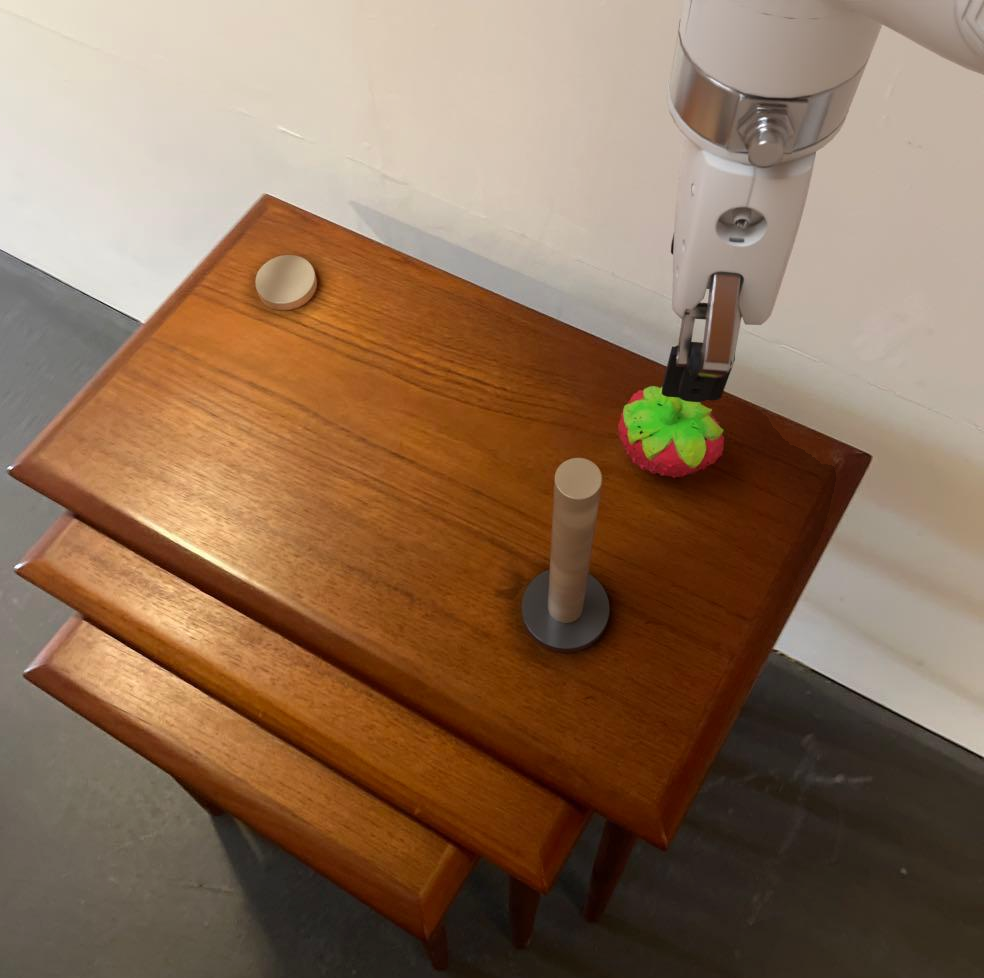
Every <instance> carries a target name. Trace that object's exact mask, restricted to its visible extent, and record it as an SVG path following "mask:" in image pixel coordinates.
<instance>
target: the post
mask: <svg viewBox="0 0 984 978" xmlns="http://www.w3.org/2000/svg"><path fill="white" fill-rule="evenodd" d="M602 484H603V475H602V471H601V470H600V468H599V467H598V465H597V464H595V463H594V462H593V461H591V460H590V459H587V458H583V457H573V458H572V457H571V458H569V459H567V460H565V461H563V462H562V463H561V464H559V466H558V467H557V468H556V470H555V474H554V483H553V501H552V519H551V537H550V538H551V539H550V556H549V557H550V558H549V561H550V562H549V569H546V570H544V571H542V572H541V573H539V574H537V575H536V576H535V577H534V578H533V579H532V580H531V581H530V582H529V583H528V585H527V586H526V588H525V590H524V593H523V596H522V599H521V620H522V623H523V626H524V629H525V630H526V632H527V634H528V635H529V637H530V638H531V639H532V640H533V641H534V642H535V643H537V644H538V645H539V646H541V647H542V648H544V649H546V650H549V651H551V652H554V653H562V654H573V653H578V652H581V651H583V650H586V649H589V647H591V646H593V645H594V644H595V643H596V642H597V641H598V640H599V639H600V638H601V637H602V635H603V634H604V632H605V631H606V629H607V625H608V622H609V617H610V607H611V606H610V600H609V596H608V594H607V592H606V590H605V587H604V586H603V585H602V584H601V583H600V581H599V580H598V578H596V577H595V576H593V575H592V574H590V564H591V558H592V552H593V545H594V539H595V538H594V537H595V532H596V524H597V518H598V512H599V504H600V499H601V498H600V497H601V491H602Z"/></svg>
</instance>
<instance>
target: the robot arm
mask: <svg viewBox="0 0 984 978" xmlns="http://www.w3.org/2000/svg"><path fill="white" fill-rule="evenodd" d="M883 26H885V27H886V28H888V29H890V30H892V31H894V32H896V33H897V34H899V35H901V36H902V37H904V38H906V39H908V40H910V41H912V42H913V43H915V44H917V45H919V46H921V47H923V48H924V49H925V50H928V51H930V52H932V53H934V54H935V55H937V56H939V57H941V58H943V59H945V60H947V61H949V62H952V63H953V64H955V65H957V66H960V67H962V68H965V69H966V70H969V71H971V72H974V73H977V74H980V75H982V76H984V0H682V7H681V11H680V18H679V23H678V28H677V33H676V39H675V44H674V51H673V56H672V63H671V69H670V74H669V80H668V86H667V89H666V101H667V107H668V112H669V114H670V115H669V116H671V118H672V120H673V122H674V124H675V125H676V127H677V129H678V131H680V133H681V134H682V135H683V136H684V140H683V145H682V152H681V157H680V162H679V163H680V164H679V172H678V177H677V179H678V180H677V186H676V187H677V189H676V199H675V209H674V210H675V211H674V224H673V225H674V226H673V235H672V238H671V243H670V254H671V255H672V289H671V290H672V294H671V308H672V311H673V312H674V314H676V315H677V316H678V318H680V319H681V324H680V330H679V335H678V343H677V345H675V346H671V349H670V352H669V355H668V356H669V357H668V361H667V364H666V369H665V373H664V377H663V380H662V385H661V387H662V394H663V395H664V396H667V397H677V398H680V399H682V400H684V401H689V402H700V403H702V402H706V401H713V402H715V401H718V400H720V399H722V397H723V393H724V391H725V388H726V385H727V383H728V381H729V378H730V374H731V372H732V370H733V366H734V363H735V361H736V350H737V346H738V345H737V344H738V339H739V334H740V328H741V322H742V320H743V323H744V325H747V326H749V325H751V326H762V325H764V324H765V323H766V322H767V321H768V320H769V319H770V317H771V316H772V314H773V310H774V307H775V305H776V300H777V298H778V296H779V292H780V290H781V286H782V283H783V280H784V278H785V273H786V270H787V267H788V264H789V261H790V259H791V254H792V252H793V248H794V245H795V242H796V239H797V235H798V232H799V228H800V224H801V221H802V217H803V213H804V210H805V206H806V202H807V199H808V194H809V189H810V185H811V181H812V176H813V171H814V165H815V160H816V154H817V152H819V151H820V150H821V149H823V148H824V147H825V146H826V145H828V144H829V143H831V142H832V141H833V140H834V138H835V137H836V136H837V135H838V134H839V132H840V131H841V129H842V127H843V126H844V124H845V121H846V119H847V116H848V114H849V111H850V108H851V106H852V104H853V100H854V98H855V96H856V93H857V90H858V88H859V85H860V83H861V81H862V78H863V75H864V72H865V70H866V68H867V65H868V62H869V60H870V58H871V54H872V52H873V50H874V47H875V45H876V42H877V40H878V37H879V35H880V32H881V30H882V27H883ZM707 290H708V298H707V302H703V300H704V299H705V296H706V292H707ZM696 320H705V322H704V323H705V325H704V332H703V339H702V342H700V341H692V340H693V334H694V328H695V321H696Z"/></svg>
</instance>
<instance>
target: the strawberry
mask: <svg viewBox="0 0 984 978" xmlns="http://www.w3.org/2000/svg"><path fill="white" fill-rule="evenodd" d="M712 411H713V409H712V408H709V407H707V406H705V405H704V404H702V402H689V401H684V400H682V399H680V398H677V397H667V396H664V395H663V394H662V386H661V387H660V386H655V385H653V386H652V385H650V386H647V387H645V388H644V389H642V390H641V389H638V390H637V392H635V393H633V394H632V396H631V397H630V400H629V401H628V402H627V403H626V404H625V405H624V406H623V409H622V412H621V413H620V420H619V423H618V424H617V427H618V433H619V436H618V438H619V439H620V441H621V443H622V447H621V448H622V449H623V450H625V451H626V455H627V456H628V457H629V458H630V459H631V460H632V464H635V465H636V466H638V467H639V470H642V471H648V472H650V473H651V474H653V475H655V474H659V475H660V476H661V477H663V476H666V477H672V478H673V479H675V478H677V477H678V478H680V477H681V478H683V477H684V476H686V475H695V474H696V473H697V472H698V471H700V470H705V469H706V467H708V466H710V465H713V464H715V463H716V462H717V460H718V459H719V457H722V456H723V452H724V445H725V443H724V441H725V438H726V437H725V436H724V431H725V429H723V428H722V427H721V426H720V420H717V419H716V418H715V415H714V414H712Z"/></svg>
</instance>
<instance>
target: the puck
mask: <svg viewBox="0 0 984 978" xmlns="http://www.w3.org/2000/svg"><path fill="white" fill-rule="evenodd" d="M254 283H255V289H256V292H257V295H258V297H259V299H260V301H261V302H262V303H263V304H264V305H265V306H266V307H269V308H270V309H273V310H277V311H285V312H286V311H292V310H296V309H298V308H301V307H302V306H304V305H306V304H307V303H308V302H310V300H311V299H312V298H313V297H314V295H315V294H316V291H317V288H318V279H317V274H316V272H315V268H314V267H313V265H312V264H311V263H310V261H308V260H307V259H306V258H304V257H302V256H299V255H295V254H283V255H279V256H276V257H272V258H271V259H269V260H268V261H266V262H265V263H264V264H263V265H262V266H261V267H260V268H259V270H258V271H257V273H256V276H255V282H254Z"/></svg>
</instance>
